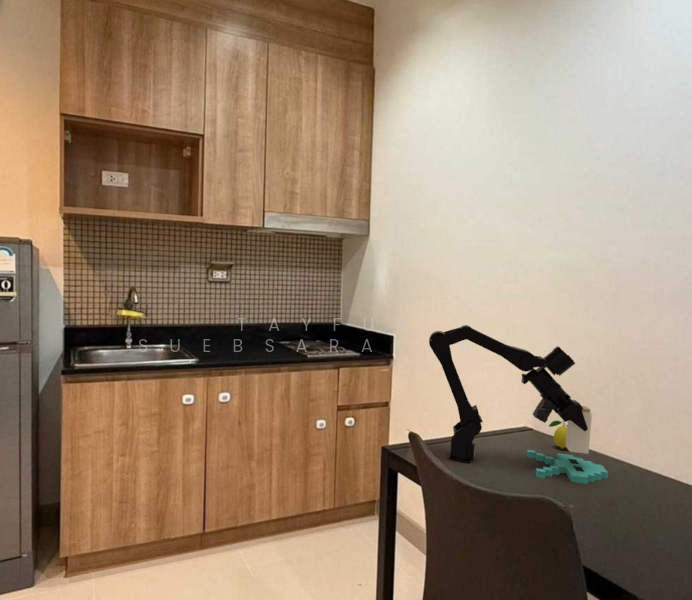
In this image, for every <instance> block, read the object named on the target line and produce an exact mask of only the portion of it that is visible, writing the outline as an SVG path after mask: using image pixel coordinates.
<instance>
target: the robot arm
mask: <svg viewBox="0 0 692 600" xmlns="http://www.w3.org/2000/svg"><path fill="white" fill-rule="evenodd" d="M428 339H429V341H428V344H429V345H428V346H429V347H430V349H431V351H432V352H433V354H434V356H435V357H436V358H437V360H438V362H439V363H440V364H441V367H442V370H443V372H444V376H445V377H446V380H447V383H448V385H449V389H450V391H451V393H452V395H453V398H454V401H455V403H456V407H457V411H458V415H459V421H458V422H457V423H456V424H455V425H453V427H452V429H453V435H452V436H451V440H450V454H449V456H448V460H453V461H454V460H455V461H458V462H463V463H466V464H467V463H468V464H470V463H471V462H472V461H474V459H475V458H476V449H477V447H476V446H477V444H476V443H475V437H476V436H479V434H480V433H481V431H482V428H483V427H482V426H483V425H482V423H484V422H483V421H484V420H483V419H482V416H481V415H480V413H479V409H478V406H477V405H476V404H475V405H473V406H472V404H471V402H470V401H469V399H468V397H467V395H466V392H465V388H464V386H463V384H462V381H461V378H460V376H459V373H458V371H457V368H456V365H455V363H454V361H453V356H452V351H451V347H450V346H453V345H455V344H457V343H459V342H462V341H466V340H467V341H469V342H471V343H473V344H475V345H477V346H479V347H482V348H483V349H486V350H488V351H489V352H492V353H494V354H496V355H498V356H499V357H502V358H503V359H505V360H506V361H508V362H509V363H510V364H512V365H513V366H514V367H516V368H517V369H518V370H520V371H522V372H524V373H521V383H522V384H523V385H526V384H527V383H528V382H530V384H531V385H533V387H534V388H535V389H536V391H537V392H539V396H540V397H541V400H540V402H539V403H538V404H537V406H536V408H535V409H534V411H532V416H533V417H534V418H536V419H538V420H539V421H540V422H542V423H544V424H545V423H546V422H548V418H549V417H550V415H551V414H552V412H553V411H554V412H555V414H557V415H558V416H559V417H560V418H561V419H562V420H563V421H564V423H566V422H567V423H568V421H572V422H573V423H575V424H576V425H577V426H578V427H580V428H581V429H582V430H584V431H586V430H588V428H587V425H586V422H585V419H584V416H583V412H582V409H583V407H582V406H583V405H581V404H580V402H579V401H577V400H574V399H572V396H570V395H569V394H568V393H567V392H566V391H565V390H564V389H563V388H562V385H560V383H559V382H557V380H556V379H554V377H553V376H556V375H557V376H559V377H560V376H562V375H563V374H564V373H565V372H566V371H568V370H569V369H571V368H572V367H574V366H575V364H576V362H575V361H574V360H573V358H572V357H571V356H570V355H569V354H567V353H566V352H565V351H564V350H563V349H562V348H561V347H560V346H558V345H557V346H555V347H554V348H553V349H552V350H551V351H550V352H549V353H548V354H547V355H546V356H544V357H542V356H540V355H539V356H538V355H534V354H533V353H531V352H530V351H529V350H526V349H523V348H520V347H516V346H513V345H510V344H509V345H508V344H505V343H503V342H501V341H500V340H497V339H495V338H494V337H490V336H489V335H487V334H484V333H482V332H480V331H478V330H476V329H474V328H473V327H471V326H470V325H467V324H465V325H462V326H459V327H457V328H452V329H449V330H446V331H442V330H435V331H434V332H431V334H430V336H429V338H428ZM525 372H527V373H525ZM549 372H550V373H551V374H552V375H553V376H552V375H551V374H550V373H549Z"/></svg>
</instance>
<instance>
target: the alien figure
mask: <svg viewBox="0 0 692 600" xmlns="http://www.w3.org/2000/svg"><path fill="white" fill-rule="evenodd" d="M526 450H527V451H526V457H527V458H531V459H535V461H537V462H543V463H544V464H545V465H549V467H547V466H543V467H542V468H537V467H536V468H535V477H536V478H540V479H546V477H552V478H553V475H554V476H555V475H557V476H559V475H560V474H566V476H567V478H568V480H569V481H570V482H571V483H576V484H577V483H578V484H586V485H589V482H591V483H596V481H602V480H603V479H608V478H609V471H608V470H606V468H605V467H604V466H603V464H598V463H594V462H593V461H589V460H584V459H583V458H582V457H575V456H574V455H572V454H565V453H557V454H556V459H555V458H554V457H553V456H549V455H545V453H542V452H541V453H540V452H536V451H535V450H533V449H526Z"/></svg>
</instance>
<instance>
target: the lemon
mask: <svg viewBox="0 0 692 600" xmlns="http://www.w3.org/2000/svg"><path fill="white" fill-rule="evenodd" d="M562 423H563V424H562ZM561 424H562V425H561ZM559 425H561V426H559ZM567 425H568V424H565V421H564V420H563V421H560V420H552V421H551V423H550V424H549V425H548V427H550V428H552V427H556V426H559V427H557V428H556V429H555V431H554V434H553V441H554V443H555V445H556V446H558V447H559V448H560V450H563V449H564V448H566V436H567Z"/></svg>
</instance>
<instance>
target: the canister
mask: <svg viewBox="0 0 692 600" xmlns="http://www.w3.org/2000/svg"><path fill="white" fill-rule="evenodd" d="M581 406H582V407H583V409H582V412H583V416H584V419H585V422H586V425H587V428H588V430H586V431H584V430H582V429H581V428H580V427H578V426H577V425H576V424H575V423H573V422H572V421H567V424H566V425H567V426H566V427H567V436H566V447H565V448H566V449H567V450H568V451H569V452H571V453H577V454H586V455H589V451H590V439H591V428H592V419H593V418H592V417H593V414H592V412H591V409H590V407H588V406H586V405H581Z"/></svg>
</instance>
